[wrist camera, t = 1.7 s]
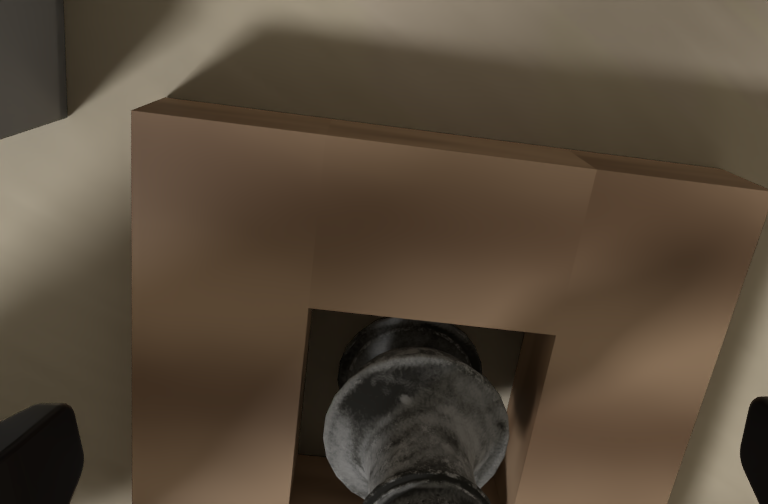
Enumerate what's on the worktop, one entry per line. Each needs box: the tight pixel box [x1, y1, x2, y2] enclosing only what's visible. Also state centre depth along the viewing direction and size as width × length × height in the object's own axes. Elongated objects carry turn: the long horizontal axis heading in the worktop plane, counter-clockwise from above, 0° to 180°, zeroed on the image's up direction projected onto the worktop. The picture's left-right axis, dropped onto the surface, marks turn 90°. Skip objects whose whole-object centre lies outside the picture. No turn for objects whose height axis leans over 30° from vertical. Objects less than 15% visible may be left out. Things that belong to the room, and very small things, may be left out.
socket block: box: [131, 97, 768, 504], centre depth 22 cm, size 18×18×3 cm
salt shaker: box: [323, 317, 510, 504], centre depth 18 cm, size 6×6×12 cm
